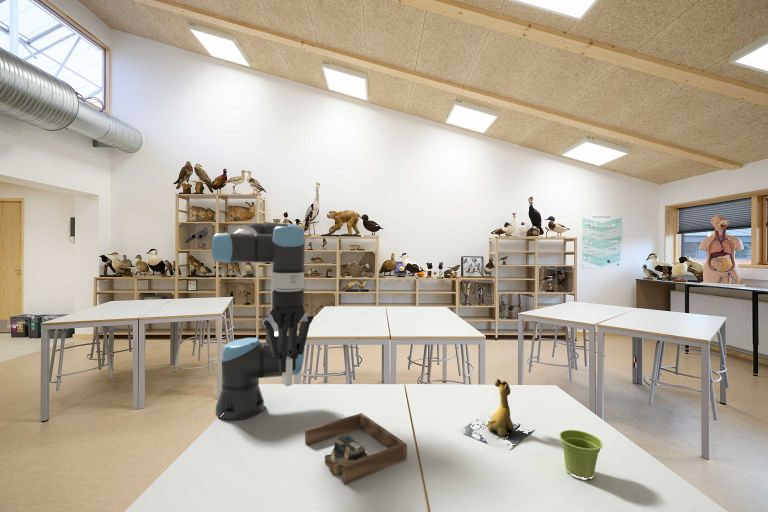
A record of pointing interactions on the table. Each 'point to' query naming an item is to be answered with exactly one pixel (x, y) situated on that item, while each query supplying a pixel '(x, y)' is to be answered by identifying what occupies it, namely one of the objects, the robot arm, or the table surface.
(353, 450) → the rock
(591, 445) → the plant pot
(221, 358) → the robot arm
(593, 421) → the table surface
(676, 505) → the table surface
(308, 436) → the box
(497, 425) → the stuffed giraffe
